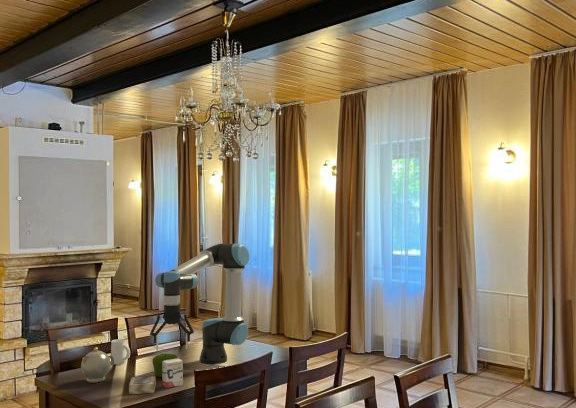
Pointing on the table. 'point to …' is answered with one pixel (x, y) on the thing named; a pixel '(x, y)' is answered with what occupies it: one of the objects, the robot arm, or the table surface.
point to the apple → (158, 362)
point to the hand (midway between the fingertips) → (172, 349)
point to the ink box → (172, 373)
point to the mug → (119, 351)
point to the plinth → (142, 385)
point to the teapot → (96, 365)
